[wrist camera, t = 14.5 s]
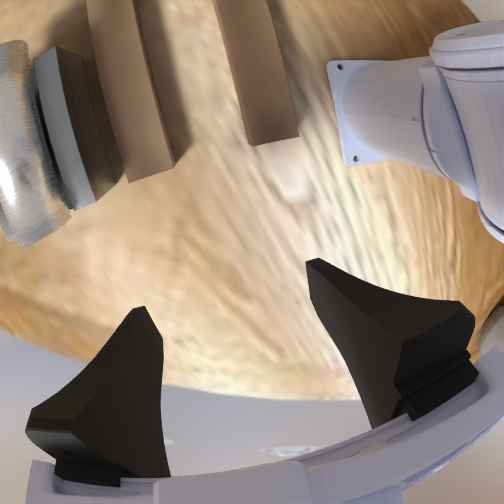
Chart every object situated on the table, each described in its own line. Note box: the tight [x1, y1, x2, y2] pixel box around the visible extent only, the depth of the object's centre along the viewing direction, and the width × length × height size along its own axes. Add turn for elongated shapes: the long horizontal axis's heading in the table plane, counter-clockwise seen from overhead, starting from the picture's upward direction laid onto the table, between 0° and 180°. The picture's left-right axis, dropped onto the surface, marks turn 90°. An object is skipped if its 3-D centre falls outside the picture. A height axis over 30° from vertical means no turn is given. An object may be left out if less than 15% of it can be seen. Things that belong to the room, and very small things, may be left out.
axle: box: [0, 40, 72, 248], centre depth 11 cm, size 12×4×4 cm, turn 12°
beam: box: [86, 0, 299, 183], centre depth 14 cm, size 11×14×2 cm
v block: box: [0, 46, 116, 242], centre depth 13 cm, size 8×10×4 cm
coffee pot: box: [478, 306, 504, 356], centre depth 32 cm, size 21×12×15 cm, turn 163°
